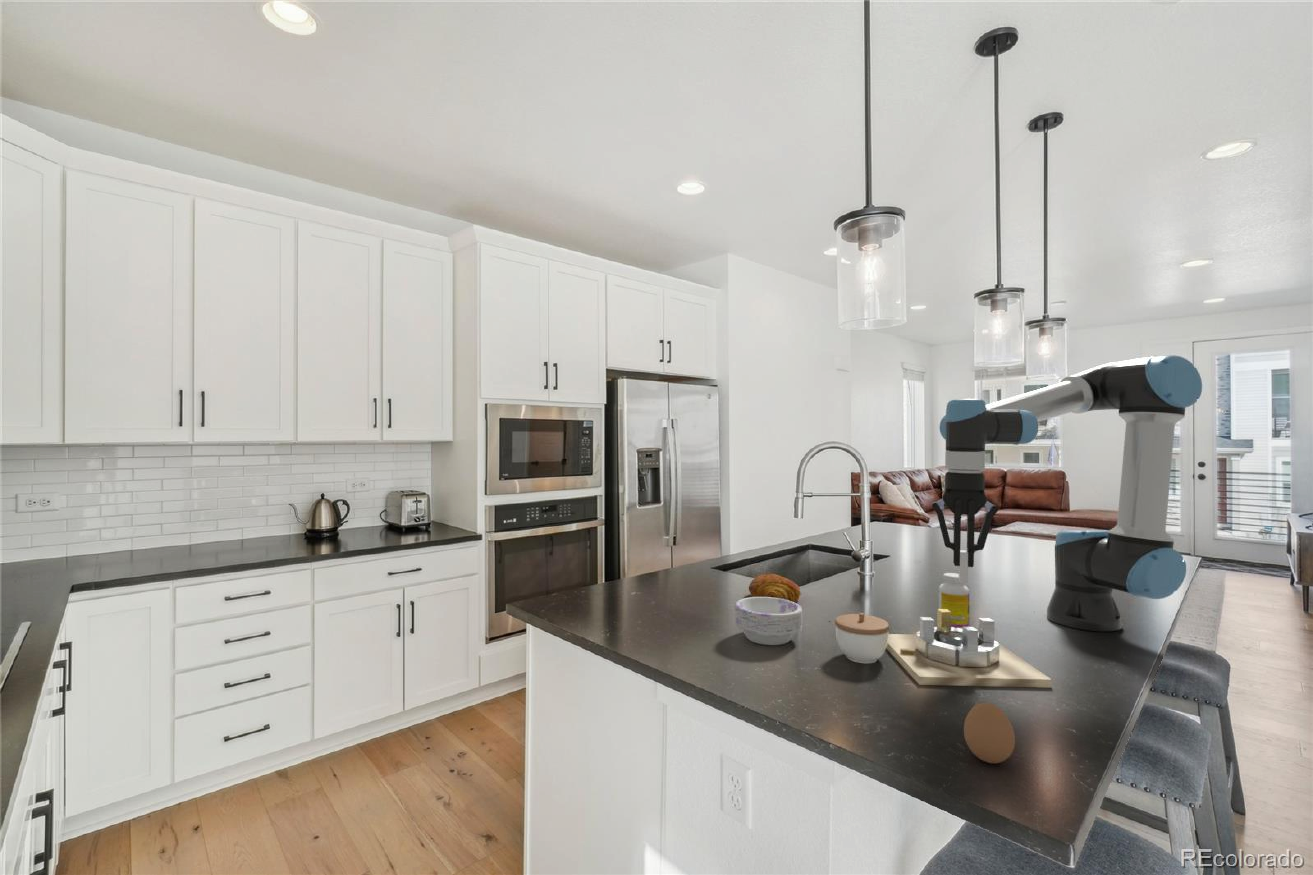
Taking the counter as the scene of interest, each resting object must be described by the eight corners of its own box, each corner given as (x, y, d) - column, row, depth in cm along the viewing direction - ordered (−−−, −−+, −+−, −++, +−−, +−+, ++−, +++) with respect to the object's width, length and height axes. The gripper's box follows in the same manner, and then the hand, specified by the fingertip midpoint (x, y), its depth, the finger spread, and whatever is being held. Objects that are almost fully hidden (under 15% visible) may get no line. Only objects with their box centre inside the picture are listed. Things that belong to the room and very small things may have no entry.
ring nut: (975, 641, 130) (975, 609, 130) (1011, 667, 116) (1011, 631, 115) (907, 640, 131) (907, 608, 131) (935, 665, 116) (935, 630, 116)
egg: (1009, 779, 81) (1009, 719, 81) (958, 761, 86) (958, 704, 86) (1019, 759, 86) (1019, 703, 86) (970, 744, 90) (970, 690, 90)
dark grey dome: (965, 649, 126) (965, 632, 126) (979, 660, 120) (980, 643, 120) (934, 648, 127) (934, 632, 127) (947, 660, 120) (947, 642, 120)
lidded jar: (862, 672, 118) (862, 624, 118) (824, 654, 128) (824, 610, 127) (900, 662, 123) (900, 617, 123) (860, 645, 132) (860, 603, 132)
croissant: (748, 613, 164) (747, 585, 163) (749, 590, 179) (748, 565, 178) (802, 614, 162) (801, 586, 160) (798, 591, 177) (798, 565, 176)
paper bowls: (814, 638, 138) (814, 603, 138) (779, 656, 126) (779, 618, 126) (758, 623, 148) (758, 592, 148) (721, 639, 137) (721, 604, 137)
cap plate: (987, 642, 134) (987, 632, 134) (1051, 687, 111) (1051, 675, 110) (878, 640, 136) (878, 630, 136) (919, 684, 112) (919, 672, 112)
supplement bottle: (973, 633, 141) (973, 578, 141) (943, 631, 142) (943, 577, 142) (964, 624, 147) (964, 572, 147) (935, 622, 149) (935, 571, 148)
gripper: (997, 471, 128) (995, 581, 128) (930, 469, 133) (929, 574, 134) (1002, 473, 121) (1000, 589, 121) (931, 471, 127) (930, 582, 127)
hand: (963, 581), depth 127 cm, fingers closed
